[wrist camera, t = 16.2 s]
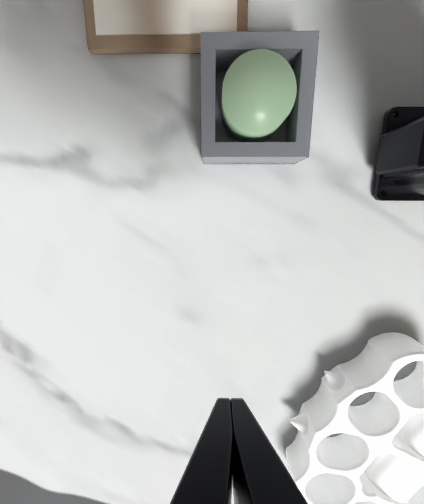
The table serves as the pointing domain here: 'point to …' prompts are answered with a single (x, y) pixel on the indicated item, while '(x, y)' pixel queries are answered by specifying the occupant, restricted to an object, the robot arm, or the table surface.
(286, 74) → the button
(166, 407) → the table surface
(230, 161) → the button housing
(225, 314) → the table surface
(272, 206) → the table surface
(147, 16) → the board
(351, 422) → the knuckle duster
